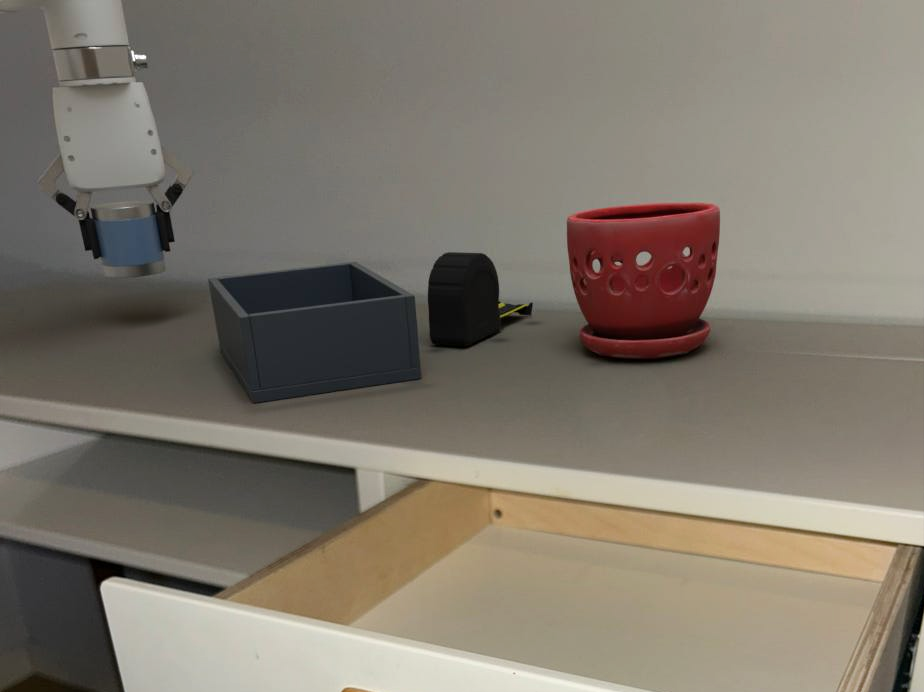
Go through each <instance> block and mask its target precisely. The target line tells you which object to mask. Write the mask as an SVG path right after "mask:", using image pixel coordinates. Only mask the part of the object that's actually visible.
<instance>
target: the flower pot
mask: <svg viewBox="0 0 924 692" xmlns="http://www.w3.org/2000/svg"><path fill="white" fill-rule="evenodd" d="M720 233H721V209H720V207H719V206H718V205H716V204H714V203H707V202H658V203H642V204H641V203H640V204H630V205H629V204H628V205H617V206H608V207H602V208H594V209H589V210H584V211H579V212H575V213H573V214H570V215H569V216H568V217H567V219H566V245H567V254H568V255H567V256H568V264H569V275H570V279H571V284H572V289H573V292H574V296H575V298H576V302H577V304H578V307H579V309H580V312H581V313H582V315H583V317H584V320H585V321H586V322H587V324H585V325H583V327H581V329H580V331H579V339H580V341H581V343H582V344H583V345H584V346H585V347H586V348H587V349H588V350H590V351H591V352H593V353H594V354H595V353H596V354H597V356H599V357H609V358H610V357H611V358H618V359H626V360H627V359H628V360H646V359H649V360H650V359H651V360H652V359H660V358H669V357H674V356H678V355H681V356H682V355H683V356H684V355H688V354H689V352H690V351H693V350H694V349H696V348H697V347H699V346H701V345H702V344H703V343H704V342H705V341H706V339H707V338H708V336H709V335H710V333H711V323H709V321H707V320H705V319H702V318H701V316H702V314H703V313H704V310H705V308H706V306H707V304H708V302H709V299H710V297H711V294H712V290H713V287H714V283H715V279H716V275H717V274H716V273H717V262H718V255H719V246H720ZM686 248H688V249H689V254H688V255H685V254H684V251H685V249H686ZM643 252H645V253H649V255H650V256H651V257H650V259H649V260H648V261H647V262H646V263H643V264H638V262H637V258H638V255H640V254H641V253H643ZM595 260H598V262H599V270H598V272H596V271H595V269H594V266H593V264H594V261H595ZM617 263H620V264H619V265H618V264H617Z"/></svg>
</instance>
